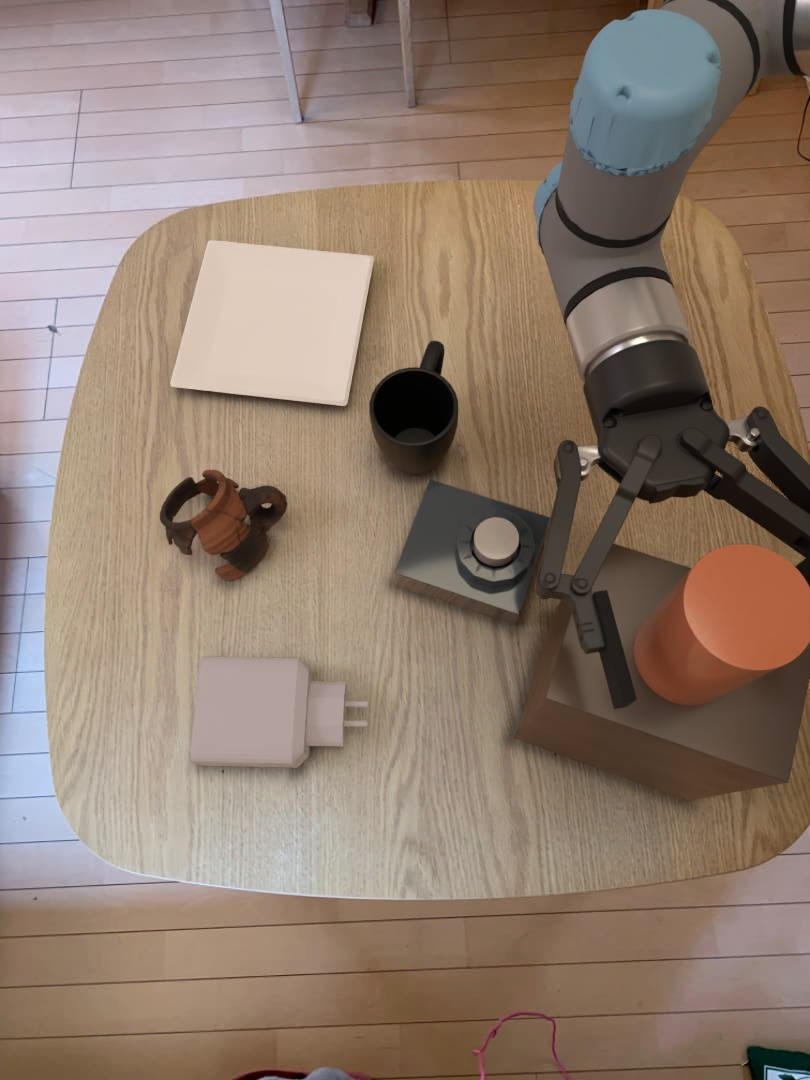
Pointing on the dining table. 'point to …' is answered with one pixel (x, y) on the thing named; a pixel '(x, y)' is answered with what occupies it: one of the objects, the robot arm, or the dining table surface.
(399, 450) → the mug
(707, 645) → the orange cylinder
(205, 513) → the pottery mug
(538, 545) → the gray button box
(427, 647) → the dining table surface
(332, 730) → the charger
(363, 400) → the dining table surface
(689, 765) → the stand
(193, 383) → the plate
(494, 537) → the round white push button
